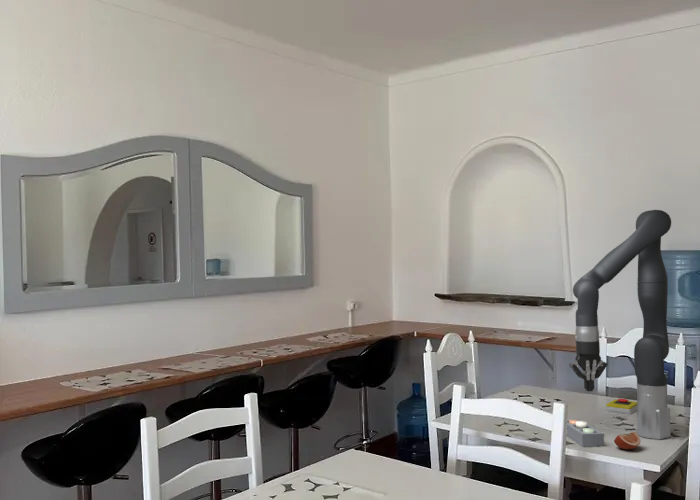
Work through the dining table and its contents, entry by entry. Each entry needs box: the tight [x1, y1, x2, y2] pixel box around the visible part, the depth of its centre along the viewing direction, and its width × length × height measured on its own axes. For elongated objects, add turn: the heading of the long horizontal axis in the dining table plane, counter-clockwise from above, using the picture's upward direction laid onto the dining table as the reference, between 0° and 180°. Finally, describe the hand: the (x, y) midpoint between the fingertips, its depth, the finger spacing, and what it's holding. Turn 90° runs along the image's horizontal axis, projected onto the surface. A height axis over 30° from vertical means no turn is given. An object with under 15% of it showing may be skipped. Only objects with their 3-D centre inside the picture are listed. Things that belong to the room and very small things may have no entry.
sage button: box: [583, 428, 594, 433], centre depth 216 cm, size 3×3×2 cm
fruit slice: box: [613, 431, 642, 450], centre depth 209 cm, size 8×7×5 cm
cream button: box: [576, 420, 588, 429], centre depth 221 cm, size 3×3×2 cm
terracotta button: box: [568, 419, 580, 424], centre depth 227 cm, size 3×3×2 cm
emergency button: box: [604, 398, 637, 417], centre depth 259 cm, size 9×4×15 cm
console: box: [566, 419, 605, 448], centre depth 221 cm, size 18×7×4 cm, turn 5°
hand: (589, 390), depth 225 cm, fingers closed
